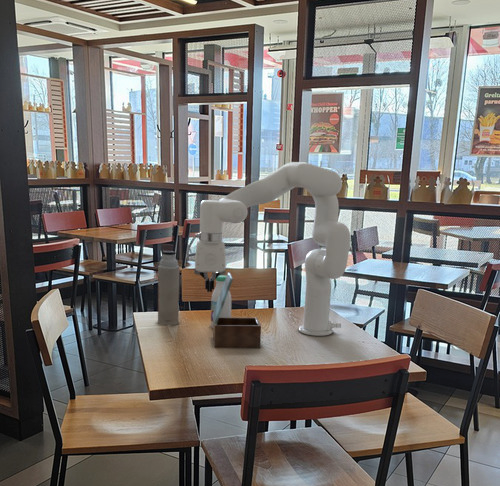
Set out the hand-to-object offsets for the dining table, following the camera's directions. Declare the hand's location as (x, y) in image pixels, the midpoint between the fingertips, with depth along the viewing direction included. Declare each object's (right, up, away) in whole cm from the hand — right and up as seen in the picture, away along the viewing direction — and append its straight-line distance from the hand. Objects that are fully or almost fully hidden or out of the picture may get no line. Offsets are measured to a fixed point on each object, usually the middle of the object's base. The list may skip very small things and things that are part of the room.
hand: (209, 291), depth 196 cm
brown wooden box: (+9, -18, +5) cm, 21 cm away
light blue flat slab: (+5, -2, +1) cm, 5 cm away
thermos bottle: (-18, -12, +27) cm, 35 cm away
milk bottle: (+3, -14, +24) cm, 28 cm away
